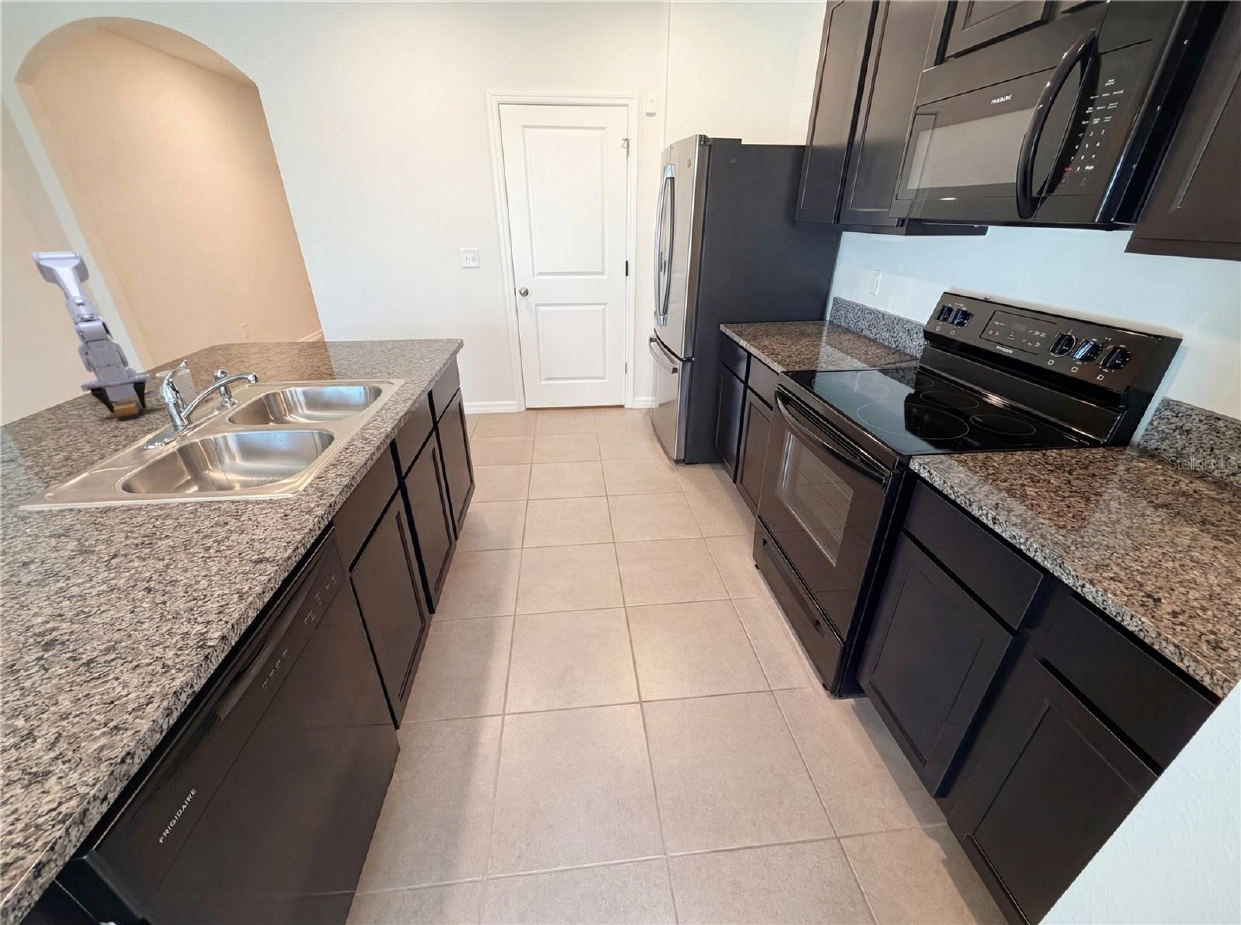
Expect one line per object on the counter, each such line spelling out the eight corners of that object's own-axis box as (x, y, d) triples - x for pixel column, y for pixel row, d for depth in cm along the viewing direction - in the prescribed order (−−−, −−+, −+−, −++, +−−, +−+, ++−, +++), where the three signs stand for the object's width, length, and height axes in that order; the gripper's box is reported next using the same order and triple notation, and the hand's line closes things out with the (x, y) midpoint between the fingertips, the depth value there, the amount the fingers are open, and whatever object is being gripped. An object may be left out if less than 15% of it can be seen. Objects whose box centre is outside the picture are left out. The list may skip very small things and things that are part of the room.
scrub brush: (123, 410, 152) (118, 399, 150) (142, 407, 154) (137, 396, 152) (118, 421, 144) (113, 409, 142) (139, 418, 146) (134, 406, 144)
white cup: (162, 406, 155) (149, 375, 150) (189, 398, 162) (177, 368, 157) (181, 409, 153) (168, 377, 148) (207, 400, 159) (195, 370, 155)
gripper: (70, 371, 135) (93, 419, 141) (140, 363, 143) (160, 408, 149) (74, 366, 141) (97, 412, 147) (142, 358, 148) (161, 402, 154)
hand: (129, 409), depth 148 cm, fingers open, 6 cm apart
